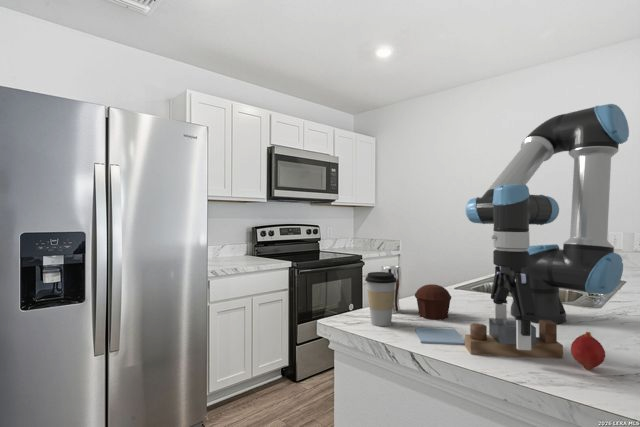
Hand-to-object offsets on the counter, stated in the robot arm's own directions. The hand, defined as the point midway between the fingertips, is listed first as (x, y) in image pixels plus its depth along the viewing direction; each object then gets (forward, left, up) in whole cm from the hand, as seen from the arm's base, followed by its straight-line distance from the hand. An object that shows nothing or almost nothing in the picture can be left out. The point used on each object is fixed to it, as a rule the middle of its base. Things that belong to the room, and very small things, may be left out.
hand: (511, 339), depth 84 cm
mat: (+15, -9, -3) cm, 18 cm away
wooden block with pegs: (0, 0, -3) cm, 3 cm away
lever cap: (0, 0, 0) cm, 0 cm away
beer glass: (+26, -34, -3) cm, 43 cm away
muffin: (+13, -29, -3) cm, 32 cm away
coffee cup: (+30, -19, -3) cm, 36 cm away
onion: (-12, +8, -3) cm, 15 cm away
